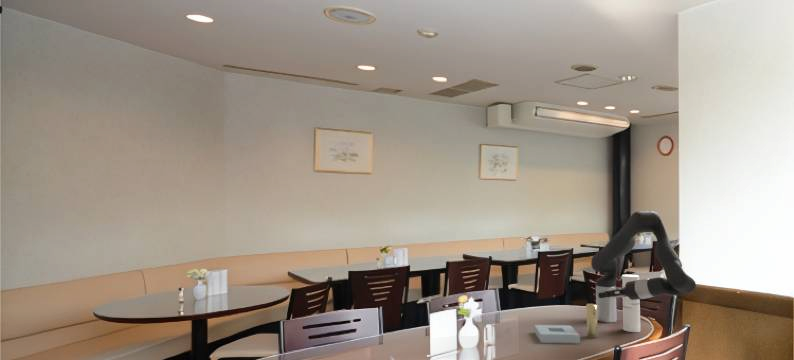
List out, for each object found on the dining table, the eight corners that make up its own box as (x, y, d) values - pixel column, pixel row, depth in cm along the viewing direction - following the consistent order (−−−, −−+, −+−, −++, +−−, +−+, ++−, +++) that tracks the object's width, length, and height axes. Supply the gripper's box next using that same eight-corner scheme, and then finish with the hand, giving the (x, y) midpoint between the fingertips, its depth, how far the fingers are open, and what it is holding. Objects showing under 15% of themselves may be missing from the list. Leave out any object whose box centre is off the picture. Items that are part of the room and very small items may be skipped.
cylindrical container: (642, 332, 230) (640, 277, 230) (625, 331, 231) (624, 276, 232) (638, 328, 237) (636, 274, 237) (621, 327, 238) (620, 274, 239)
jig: (534, 332, 231) (534, 324, 231) (570, 333, 229) (570, 325, 229) (540, 342, 215) (540, 334, 215) (579, 343, 213) (579, 335, 213)
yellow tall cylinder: (585, 335, 226) (585, 303, 226) (596, 335, 225) (595, 303, 226) (588, 338, 221) (587, 305, 222) (599, 338, 221) (598, 305, 221)
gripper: (645, 279, 213) (609, 286, 224) (629, 280, 204) (593, 287, 215) (650, 297, 211) (614, 303, 222) (634, 299, 202) (597, 305, 213)
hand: (603, 295), depth 219 cm, fingers open, 8 cm apart
